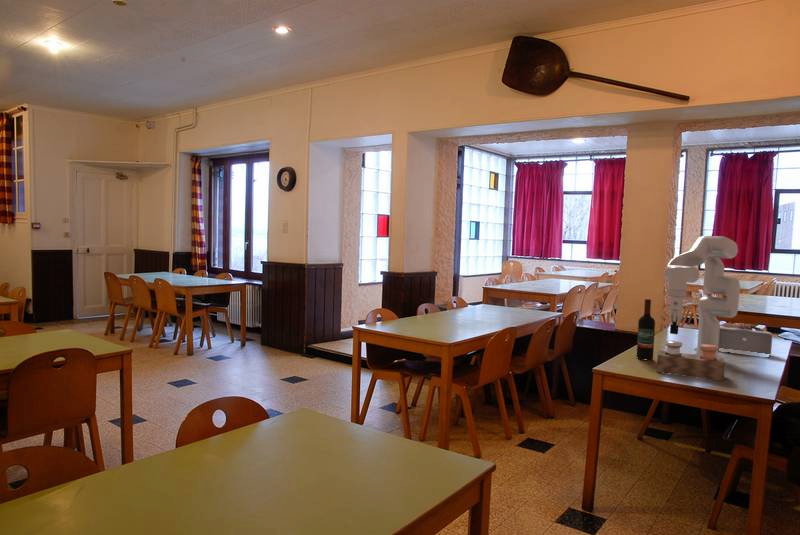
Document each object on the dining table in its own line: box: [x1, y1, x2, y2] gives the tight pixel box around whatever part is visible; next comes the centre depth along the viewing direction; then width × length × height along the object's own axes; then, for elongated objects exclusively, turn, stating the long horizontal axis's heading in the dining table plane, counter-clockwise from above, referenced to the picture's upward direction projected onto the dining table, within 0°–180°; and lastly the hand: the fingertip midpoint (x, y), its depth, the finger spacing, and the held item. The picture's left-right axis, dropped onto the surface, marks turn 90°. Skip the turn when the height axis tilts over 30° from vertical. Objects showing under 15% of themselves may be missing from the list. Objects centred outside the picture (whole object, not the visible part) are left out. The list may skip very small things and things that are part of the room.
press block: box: [656, 349, 726, 382], centre depth 241 cm, size 26×11×8 cm, turn 61°
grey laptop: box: [719, 326, 773, 359], centre depth 288 cm, size 25×16×12 cm, turn 54°
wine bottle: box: [636, 298, 656, 361], centre depth 267 cm, size 8×8×30 cm
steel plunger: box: [664, 340, 683, 356], centre depth 244 cm, size 7×7×9 cm
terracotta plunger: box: [700, 344, 718, 361], centre depth 237 cm, size 7×7×9 cm
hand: (673, 333), depth 243 cm, fingers closed
